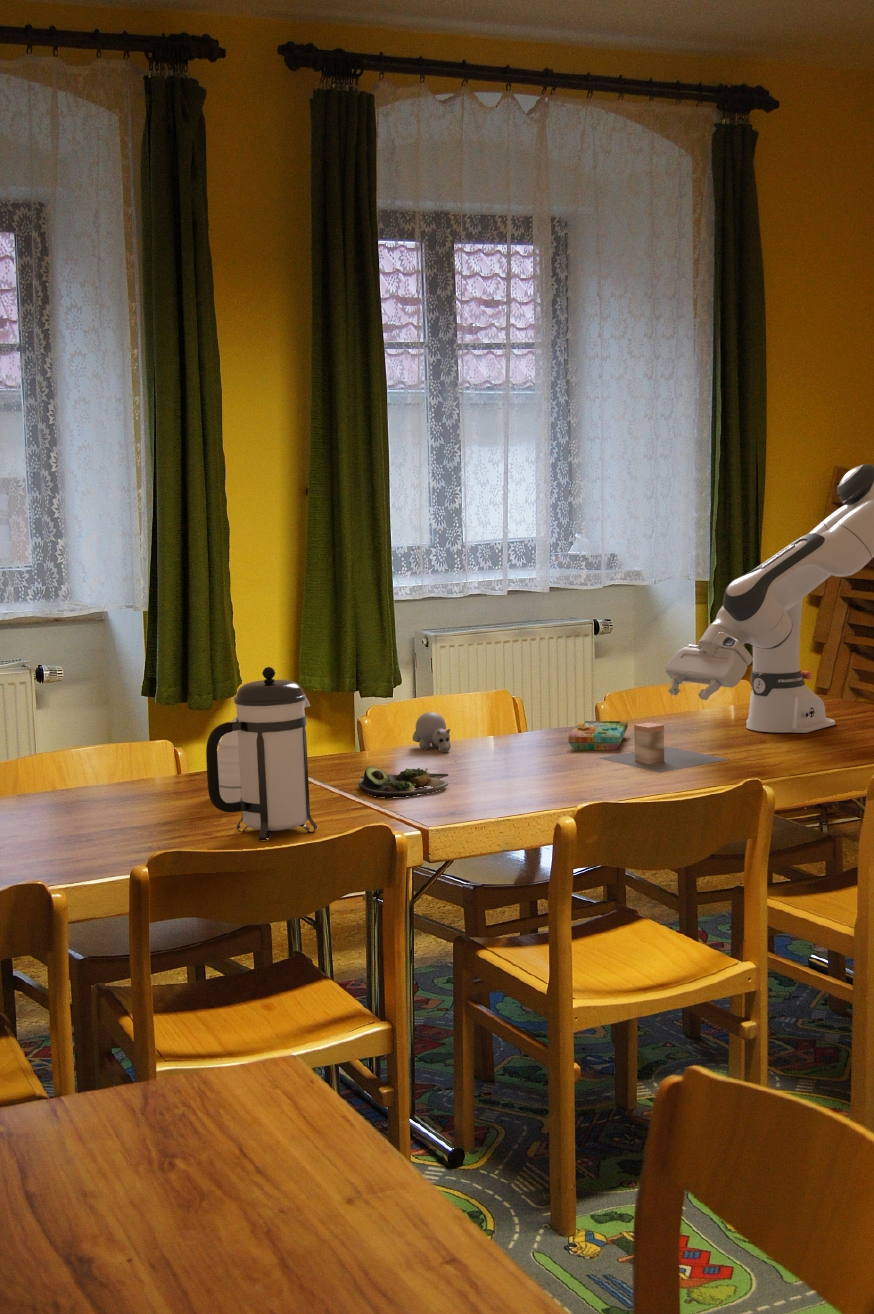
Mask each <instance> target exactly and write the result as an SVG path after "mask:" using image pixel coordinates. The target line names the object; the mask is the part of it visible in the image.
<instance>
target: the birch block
mask: <svg viewBox="0 0 874 1314" xmlns="http://www.w3.org/2000/svg"><path fill="white" fill-rule="evenodd" d="M664 726H665V725H664V724H660V723H654V722H644V723H638V724H633V731H634V733H633V734H634V735H633V736H634V752H635V761H637V762H641V763H646V764H652V763H658V762H663V761H664V747H665V728H664Z"/></svg>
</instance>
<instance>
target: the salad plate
mask: <svg viewBox="0 0 874 1314" xmlns="http://www.w3.org/2000/svg"><path fill="white" fill-rule="evenodd" d="M428 770H429V769H428V768H425V770H424V769H421V768H420V767H417V768H407V767H406V768H405V769H404V770H403V771H402V770H401V771H400V773H398V774H387V772H385V771H384V770H383V769H382V768H379V767H377V766H368V767H367V768H366V769H365V770H364V775H362V776H360V777H359V778H361V779H360V780H359V781H358V784H357V785H358V787H359V789H360V791H361V792H362V793H364V794H366V795H368V794H369V795H368V796H370V795H372V796H371V797H373V796H376V797H375V798H377V797H385V798H384V799H387V798H393V797H406V796H412V797H414V796H413V795H417V794H425V795H428V794H427V793H430V794H433V793H432V792H434V793H437V792H436V791H438V792H440V791H439V790H441V791H442V790H444V789H445V788H446V787H447V786H448V785H449V783H448V782H447V781H445V780H442V779H443V778H446V777H449V773H430V772H429V771H428ZM424 786H431V787H433V788H426V789H419V790H415V788H419V787H424ZM406 798H407V797H406ZM393 799H394V798H393Z"/></svg>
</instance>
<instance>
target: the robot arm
mask: <svg viewBox="0 0 874 1314" xmlns="http://www.w3.org/2000/svg"><path fill="white" fill-rule="evenodd" d="M836 490H837V491H836V492H837V493H836V494H837V496H838V498H839V500H840V501H841V504H843V505H842V506H841V507H839V508H838V509H836V510H835V511H833V512H832V513H831V514H829V515H828V516H827V517H825V518H824V519H823V520H822V521H821V522H820V523H818V524H817V525H816V526H815V527H814V528H813V529H812V530H810V532H808V533H807V534H805V535H803V536H801V537H799V538H797V539H796V540H794V541H792V542H791V543H789V544H788V545H787V546H785V547H783V548H782V549H781V550H780V551H778V552H776V553H775V554H774V555H773V556H771V557H769V558H768V559H767V560H765V561H763V562H762V563H761V564H760V565H758V566H757V567H755V568H753V569H752V570H751V571H748V572H747V573H745V574H742V575H740V576H738V577H737V578H735V579H733V580H732V581H731V582H730V583H729V584H728V585H727V586H726V588H725V591H724V593H723V599H722V605H721V607H720V608H719V610H718V612H717V613H716V618H715V619H714V620H713V622H712V623H710V624H709V625H708V626H707V628H706V629H705V630H704V631H705V632H704V633H703V634H702V636H701V637H700V638H699V640H698V642H697V645H695V644H688V645H686V646H685V647H682V648H680V649H679V650H677V652H676V653H675V654H674V655H673V656H672V658H671V659H669V662H667V664H666V665H665V668H664V671H665V673H666V675H667V676H668V677H669V678H670V679H671V685H670V686H669V688H668V691H667V692H668V693H669V694H670V695H671V696H678V694H679V693H680V692H681V689H680V688H679V687H680V685H682V684H683V682H686V683H687V682H688V683H693V684H694V683H695V684H700V685H707V686H706V687H705V688H701V690H700V692H699V693H698V697H699V698H700V700H702V701H703V700H704V701H707V700H709V698H710V697H711V695H713V694H715V693H716V692H717V691H719V690H720V688H721V687H723V688H730V689H731V688H732V689H733V688H734V687H735V686H737V685H739V683H740V682H741V681H742V678H743V677H744V676H745V674H746V672H747V669H748V666H749V665H751V663H752V670H751V673H750V686H751V688H752V689H751V692H750V697H749V699H750V700H749V707H748V708H749V709H748V716H747V717H748V718H747V719H746V726H745V727H746V729H748V730H750V731H755V732H765V733H796V734H799V733H800V734H801V733H802V734H804V733H805V734H807V733H810V732H813V731H816V730H820V729H825V728H828V727H830V726H831V727H832V726H834V725H836V721H835V720H836V719H835V720H834V719H832V718H829V717H826V707H825V703H824V701H823V699H822V698H821V697H819V695H817V694H816V693H814V691H812V690H811V689H810V688H809V687H808V686H806V682H805V680H808V681H810V680H811V679H812V678H813V673H812V671H809V670H808V671H806V670H804V671H801V670H800V668H801V667H800V666H801V665H800V659H801V658H800V657H801V656H800V653H801V652H800V651H801V650H800V646H801V645H800V642H801V641H800V640H801V639H800V638H801V637H800V636H801V626H802V614H803V599H804V598H805V597H806V596H807V595H809V594H810V593H811V592H812V591H814V590H815V589H816V588H817V587H819V586H820V585H821V584H822V583H823V582H825V581H826V580H827V579H829V577H831V576H832V577H833V576H834V577H839V578H841V577H842V578H843V577H850V576H852V575H854V574H856V573H858V572H859V571H861V569H863V568H864V567H865V566H866V565H867V564H868V563H869V562H870V561H871V560H873V558H874V465H873V464H870V463H862V464H861V465H859V466H858V465H857V466H855V467H854V468H851V469H850V470H848V471H847V472H846V473H844V476H843V477H842V478H841V480H840V482H839V484H838V485H837V489H836ZM745 644H749V645H750V646H752V654H751V653H750V652H749V650H747V648H746V647H745Z"/></svg>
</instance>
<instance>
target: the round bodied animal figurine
mask: <svg viewBox="0 0 874 1314" xmlns="http://www.w3.org/2000/svg"><path fill="white" fill-rule="evenodd" d="M446 725H447V724H446V721H445V719H444V717H443V716H441V714H439V713H437V712H435V711H430V712H425V713H422V714H421V715H420V716H419V717H418V718H417V721H416V722H415V730H414V732H413V735H412V740H413V741H414V742H415V743H419V748H420V749H421V750H426V751H427V750H429V749H430V748H431V747H433V748H436V749H439V750H440V752H442V753H448V752H449V751H450V750H451V742H450V740H451V736H450V732H451V728H449V729H447V726H446Z"/></svg>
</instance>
